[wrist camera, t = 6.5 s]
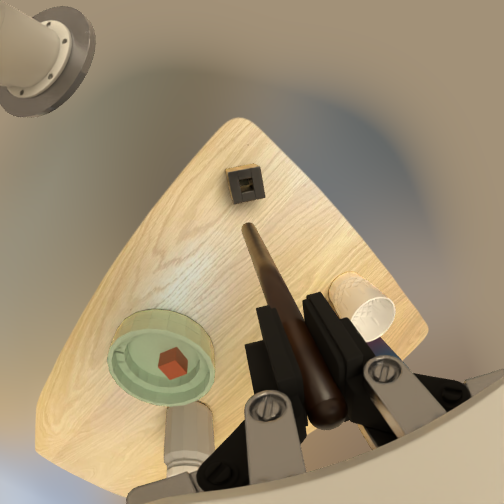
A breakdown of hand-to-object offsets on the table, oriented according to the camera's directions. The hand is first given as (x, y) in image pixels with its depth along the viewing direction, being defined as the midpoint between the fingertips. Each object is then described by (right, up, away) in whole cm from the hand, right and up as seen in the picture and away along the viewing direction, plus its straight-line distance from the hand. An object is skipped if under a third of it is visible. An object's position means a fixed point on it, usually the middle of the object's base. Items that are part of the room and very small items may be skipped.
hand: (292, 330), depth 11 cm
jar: (-15, -30, +43) cm, 55 cm away
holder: (-3, +13, +28) cm, 31 cm away
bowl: (-17, -14, +36) cm, 42 cm away
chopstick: (-2, +5, +14) cm, 15 cm away
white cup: (+14, -3, +37) cm, 40 cm away
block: (-15, -15, +37) cm, 42 cm away
